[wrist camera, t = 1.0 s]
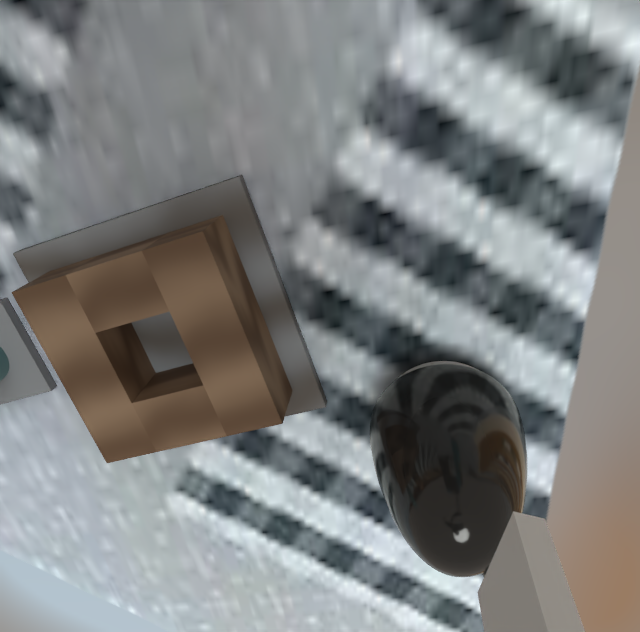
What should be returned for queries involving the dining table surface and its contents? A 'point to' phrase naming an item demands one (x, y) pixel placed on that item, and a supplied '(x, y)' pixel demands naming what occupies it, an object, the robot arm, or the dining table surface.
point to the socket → (170, 324)
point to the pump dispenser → (450, 463)
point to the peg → (3, 364)
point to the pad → (20, 360)
